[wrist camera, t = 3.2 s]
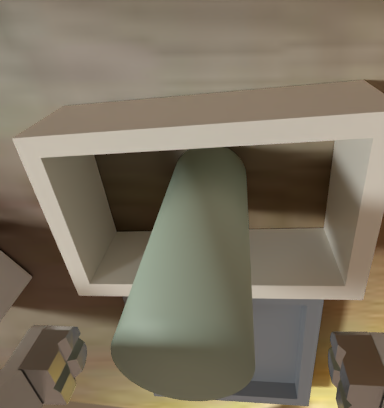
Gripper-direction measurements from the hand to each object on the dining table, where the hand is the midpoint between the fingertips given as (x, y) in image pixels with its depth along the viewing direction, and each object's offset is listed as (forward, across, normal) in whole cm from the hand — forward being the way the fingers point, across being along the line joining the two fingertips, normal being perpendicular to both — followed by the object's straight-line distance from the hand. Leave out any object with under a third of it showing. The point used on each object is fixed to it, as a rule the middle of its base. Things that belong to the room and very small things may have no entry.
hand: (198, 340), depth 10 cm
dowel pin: (+11, 0, 0) cm, 11 cm away
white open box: (+11, 0, 0) cm, 11 cm away
